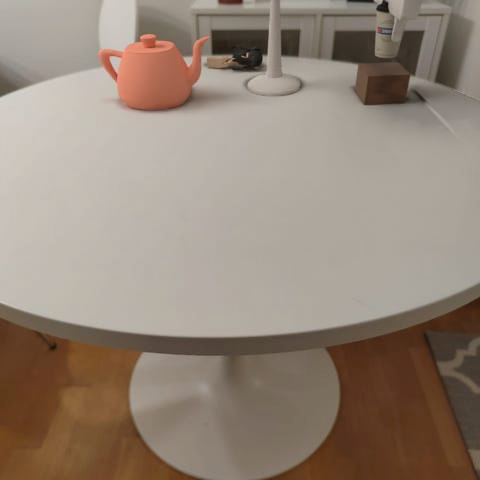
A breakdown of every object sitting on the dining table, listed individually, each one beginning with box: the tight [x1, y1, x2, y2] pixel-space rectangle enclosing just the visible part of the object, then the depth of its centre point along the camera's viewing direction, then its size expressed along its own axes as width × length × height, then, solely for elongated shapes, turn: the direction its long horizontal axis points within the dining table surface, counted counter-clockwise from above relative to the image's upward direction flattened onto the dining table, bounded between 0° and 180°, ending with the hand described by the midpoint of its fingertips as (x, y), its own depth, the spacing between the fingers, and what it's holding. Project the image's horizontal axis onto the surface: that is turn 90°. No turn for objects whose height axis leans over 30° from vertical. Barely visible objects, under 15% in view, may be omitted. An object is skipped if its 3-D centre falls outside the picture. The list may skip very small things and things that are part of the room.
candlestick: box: [247, 0, 301, 97], centre depth 101 cm, size 13×13×30 cm
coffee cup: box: [374, 0, 407, 59], centre depth 94 cm, size 7×7×10 cm
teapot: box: [98, 33, 211, 111], centre depth 102 cm, size 25×17×13 cm
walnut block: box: [354, 61, 412, 106], centre depth 102 cm, size 9×9×6 cm
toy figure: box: [206, 44, 264, 72], centre depth 121 cm, size 7×6×15 cm
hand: (389, 35), depth 95 cm, fingers closed on coffee cup, 7 cm apart
